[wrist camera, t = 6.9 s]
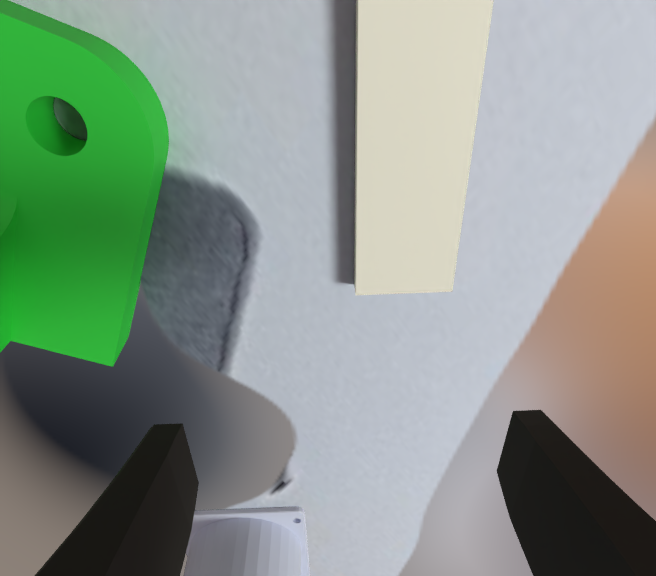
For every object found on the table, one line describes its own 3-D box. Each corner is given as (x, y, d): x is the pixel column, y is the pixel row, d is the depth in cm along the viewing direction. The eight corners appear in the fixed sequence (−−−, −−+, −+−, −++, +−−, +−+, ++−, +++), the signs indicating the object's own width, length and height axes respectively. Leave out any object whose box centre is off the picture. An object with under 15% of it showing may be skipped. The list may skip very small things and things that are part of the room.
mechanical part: (128, 337, 21) (42, 496, 14) (-14, 298, 20) (-182, 454, 13) (187, 71, 15) (89, 132, 9) (-10, -9, 14) (-308, -11, 7)
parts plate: (447, 281, 20) (452, 291, 19) (354, 284, 20) (355, 295, 19) (494, -72, 13) (504, -75, 13) (356, -68, 13) (358, -71, 13)
